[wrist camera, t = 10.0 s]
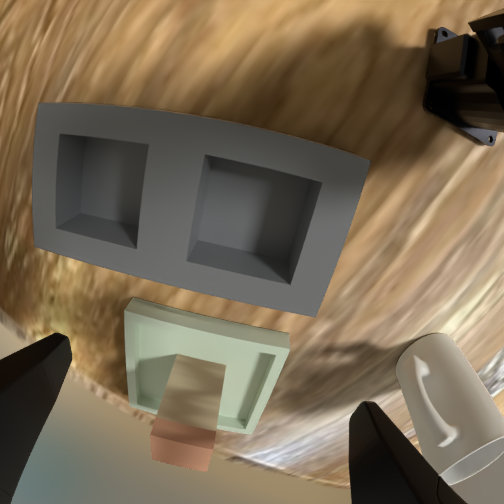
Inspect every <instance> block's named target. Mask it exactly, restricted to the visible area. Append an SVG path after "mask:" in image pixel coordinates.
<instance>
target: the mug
mask: <svg viewBox="0 0 504 504" xmlns="http://www.w3.org/2000/svg"><path fill="white" fill-rule="evenodd" d="M396 376H397V379H398V382H399V384H400V387H401V390H402V393H403V396H404V399H405V402H406V404H407V407H408V410H409V413H410V416H411V419H412V422H413V425H414V428H415V431H416V435H417V438H418V441H419V444H420V448H421V451H422V455H423V457H424V458H425V459H426V460H427V462H428V463H429V464H430V465H431V466H432V467H433V468H434V469H435V471H436V472H437V473H438V474H439V476H441V477H442V478H443V480H444V481H445V482H446V483H447V484H448V485H449V486H450V485H453V484H456V483H458V482H460V481H462V480H465V479H466V478H469V477H470V476H472V475H474V474H476V473H477V472H479V471H481V470H482V469H484V468H485V467H487V466H488V465H490V464H491V463H492V462H493V461H495V460H496V459H497V458H498V457H499V456H500V455H502V454H503V453H504V417H503V416H502V414H501V412H500V411H499V409H498V407H497V405H496V404H495V402H494V400H493V399H492V397H491V396H490V394H489V392H488V391H487V389H486V388H485V386H484V384H483V383H482V381H481V380H480V378H479V377H478V375H477V373H476V372H475V370H474V369H473V367H472V366H471V364H470V363H469V361H468V360H467V358H466V357H465V355H464V354H463V352H462V351H461V350H460V348H459V347H458V346H457V344H456V343H455V342H454V340H453V339H452V338H451V337H450V336H449V335H447V334H444V333H434V334H430V335H427V336H425V337H422V338H420V339H419V340H417V341H416V342H414V343H413V344H411V345H410V346H409V347H408V348H407V349H406V350H405V351H404V352H403V354H402V355H401V356H400V358H399V360H398V362H397V365H396Z"/></svg>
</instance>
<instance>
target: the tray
mask: <svg viewBox="0 0 504 504" xmlns="http://www.w3.org/2000/svg"><path fill="white" fill-rule="evenodd" d="M124 328H125V354H126V371H127V384H128V395H129V405H130V407H133V408H137V409H140V410H143V411H146V412H150V413H153V414H157V412H158V409H159V406H160V403H161V400H162V397H163V394H164V391H165V388H166V385H167V382H168V379H169V376H170V373H171V370H172V367H173V365H174V362H175V359H176V356H177V354H181V355H185V356H189V357H193V358H197V359H201V360H206V361H210V362H215V363H220V364H224V365H226V370H225V377H224V383H223V390H222V396H221V402H220V409H219V415H218V422H217V428H216V429H220V430H226V431H231V432H237V433H243V434H250V435H252V433H253V431H254V429H255V427H256V425H257V423H258V421H259V419H260V417H261V414H262V412H263V410H264V408H265V406H266V404H267V401H268V399H269V397H270V395H271V393H272V390H273V388H274V386H275V384H276V381H277V379H278V377H279V375H280V372H281V370H282V368H283V365H284V363H285V361H286V358H287V356H288V353H289V351H290V339H289V333H285V332H279V331H274V330H269V329H264V328H259V327H254V326H250V325H245V324H240V323H235V322H231V321H226V320H222V319H218V318H213V317H209V316H205V315H200V314H196V313H192V312H188V311H184V310H180V309H176V308H172V307H168V306H164V305H161V304H157V303H153V302H149V301H146V300H142V299H138V298H135V297H133V298H132V299H131V301H130V302H129V304H128V305H127V307H126V308H125V310H124Z"/></svg>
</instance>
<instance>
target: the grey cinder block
mask: <svg viewBox="0 0 504 504" xmlns="http://www.w3.org/2000/svg"><path fill="white" fill-rule="evenodd" d="M370 163H371V161H370V160H368V159H366V158H363V157H361V156H358V155H356V154H353V153H351V152H348V151H345V150H342V149H338V148H335V147H332V146H329V145H325V144H322V143H318V142H315V141H311V140H308V139H304V138H301V137H297V136H293V135H289V134H285V133H281V132H277V131H273V130H269V129H265V128H261V127H256V126H252V125H247V124H243V123H238V122H233V121H228V120H223V119H218V118H212V117H207V116H201V115H195V114H189V113H182V112H175V111H168V110H161V109H153V108H144V107H135V106H125V105H113V104H99V103H79V102H56V103H39V104H38V111H37V119H36V128H35V138H34V152H33V172H32V212H33V233H34V247H37V248H40V249H43V250H46V251H49V252H53V253H56V254H59V255H62V256H66V257H69V258H72V259H76V260H79V261H82V262H86V263H89V264H93V265H96V266H100V267H103V268H107V269H110V270H114V271H118V272H121V273H125V274H128V275H132V276H136V277H140V278H143V279H147V280H151V281H155V282H159V283H163V284H167V285H171V286H175V287H179V288H183V289H187V290H191V291H195V292H199V293H203V294H208V295H212V296H216V297H221V298H225V299H229V300H234V301H238V302H243V303H247V304H252V305H257V306H261V307H266V308H271V309H276V310H281V311H286V312H291V313H296V314H301V315H306V316H311V317H316V315H317V313H318V310H319V308H320V306H321V303H322V301H323V298H324V296H325V293H326V291H327V288H328V285H329V283H330V280H331V278H332V275H333V273H334V270H335V267H336V265H337V262H338V259H339V257H340V254H341V251H342V248H343V246H344V243H345V240H346V237H347V234H348V231H349V229H350V226H351V223H352V220H353V217H354V214H355V211H356V208H357V205H358V202H359V199H360V196H361V192H362V189H363V186H364V183H365V180H366V176H367V173H368V170H369V166H370Z"/></svg>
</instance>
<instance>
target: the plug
mask: <svg viewBox="0 0 504 504" xmlns="http://www.w3.org/2000/svg"><path fill="white" fill-rule="evenodd" d="M225 370H226V365H224V364H220V363H215V362H210V361H206V360H201V359H197V358H193V357H189V356H185V355H181V354H177V356H176V359H175V362H174V365H173V367H172V370H171V373H170V376H169V379H168V382H167V385H166V388H165V391H164V394H163V397H162V400H161V403H160V406H159V409H158V412H157V415H156V418H155V422H154V425H153V428H152V431H151V434H150V437H151V452H152V459H153V460H157V461H160V462H164V463H168V464H172V465H176V466H181V467H185V468H189V469H194V470H199V471H204V472H206V471H207V468H208V465H209V462H210V458H211V455H212V452H213V448H214V441H215V435H216V428H217V422H218V415H219V409H220V402H221V396H222V390H223V383H224V377H225Z"/></svg>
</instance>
